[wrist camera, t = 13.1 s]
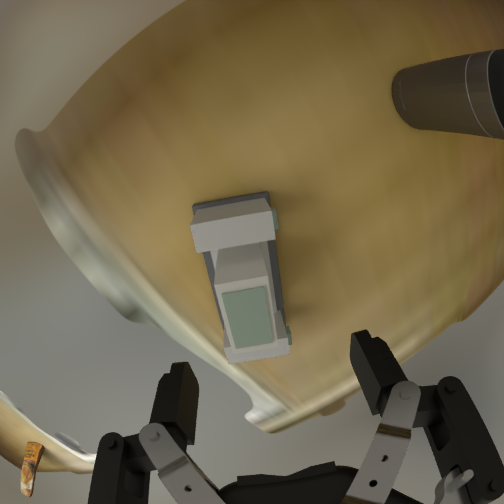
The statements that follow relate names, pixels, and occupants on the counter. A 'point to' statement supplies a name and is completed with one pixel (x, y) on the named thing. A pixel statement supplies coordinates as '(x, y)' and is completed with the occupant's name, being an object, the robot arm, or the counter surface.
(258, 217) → the rail
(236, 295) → the block
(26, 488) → the pancake mix bag
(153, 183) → the counter surface
